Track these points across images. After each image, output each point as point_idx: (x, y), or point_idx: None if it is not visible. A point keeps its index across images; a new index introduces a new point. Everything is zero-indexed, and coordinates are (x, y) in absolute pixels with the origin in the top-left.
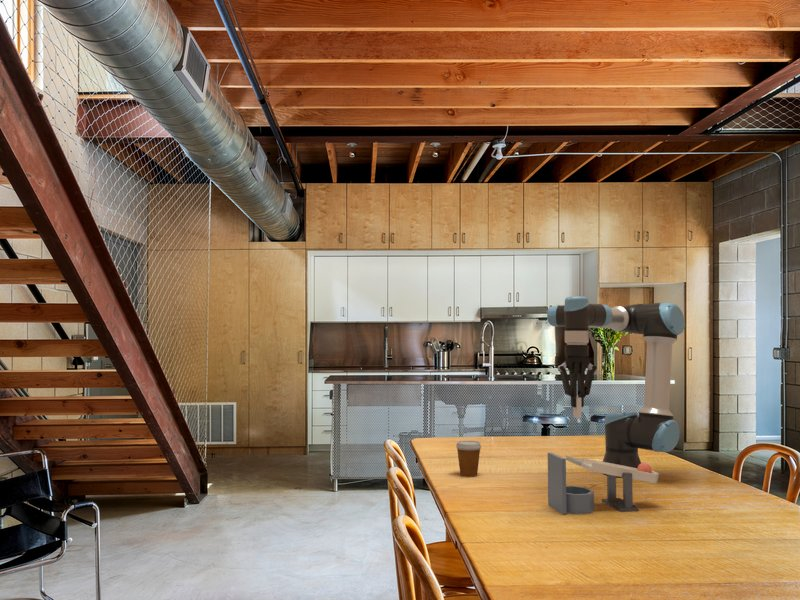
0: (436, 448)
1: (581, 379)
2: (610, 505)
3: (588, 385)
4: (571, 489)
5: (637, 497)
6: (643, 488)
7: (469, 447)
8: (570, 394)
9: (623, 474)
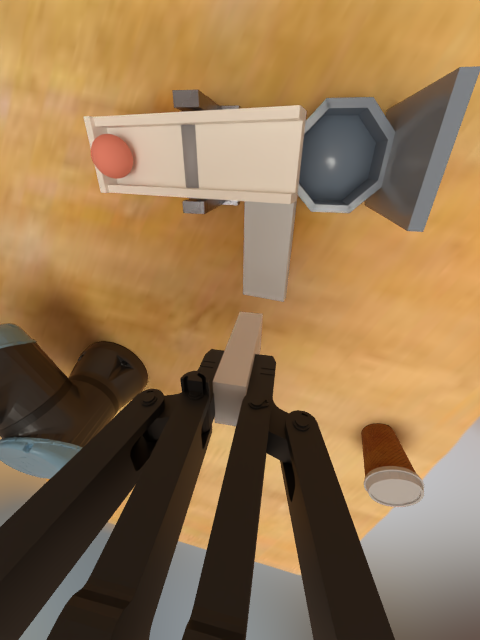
0: None
1: (144, 541)
2: None
3: (106, 454)
4: (318, 203)
5: (149, 221)
6: (114, 279)
7: (408, 474)
8: (297, 415)
9: (199, 101)
